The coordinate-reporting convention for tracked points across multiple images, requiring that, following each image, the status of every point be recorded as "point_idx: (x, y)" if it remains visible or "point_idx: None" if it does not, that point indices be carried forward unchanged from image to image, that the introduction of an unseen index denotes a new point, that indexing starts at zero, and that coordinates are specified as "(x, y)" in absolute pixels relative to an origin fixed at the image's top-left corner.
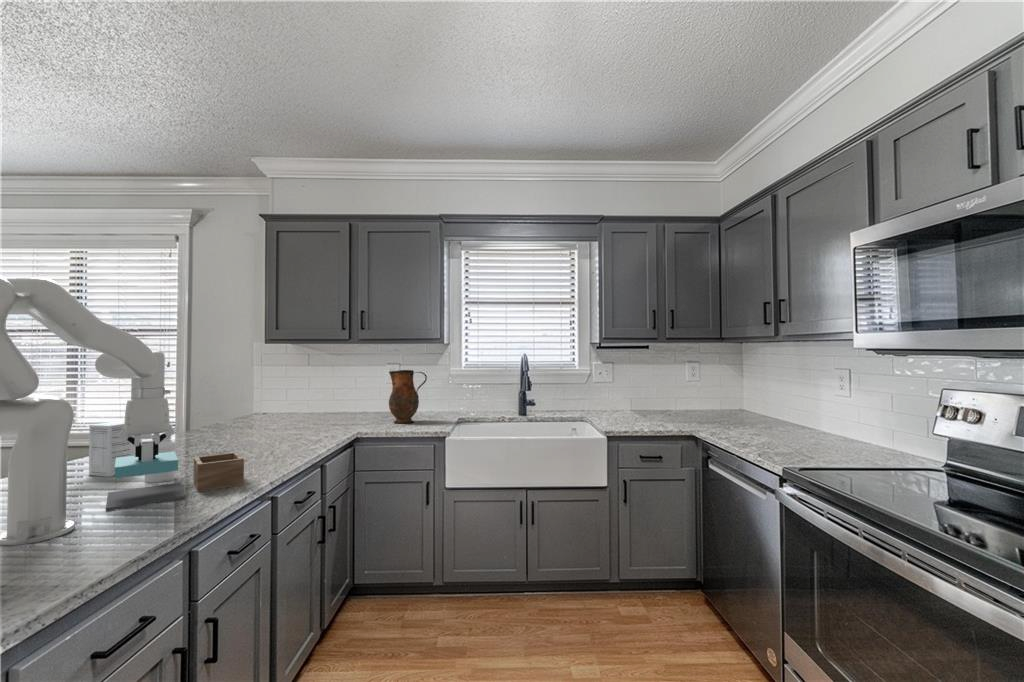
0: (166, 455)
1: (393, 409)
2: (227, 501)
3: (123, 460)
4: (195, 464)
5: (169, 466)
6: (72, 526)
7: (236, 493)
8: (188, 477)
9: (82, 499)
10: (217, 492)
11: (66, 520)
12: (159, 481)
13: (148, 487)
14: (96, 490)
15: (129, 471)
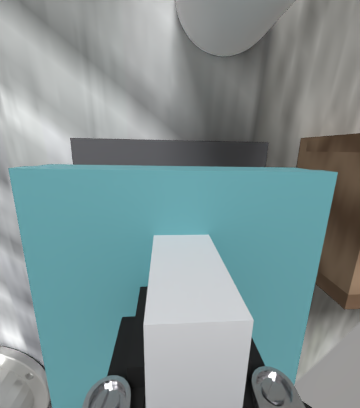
0: (273, 275)
1: None
2: (307, 362)
3: (69, 287)
4: (350, 211)
5: None
6: (48, 404)
7: (341, 318)
8: (308, 38)
9: (8, 142)
10: (315, 287)
11: (26, 370)
12: (218, 55)
13: (180, 151)
14: (24, 26)
15: None
